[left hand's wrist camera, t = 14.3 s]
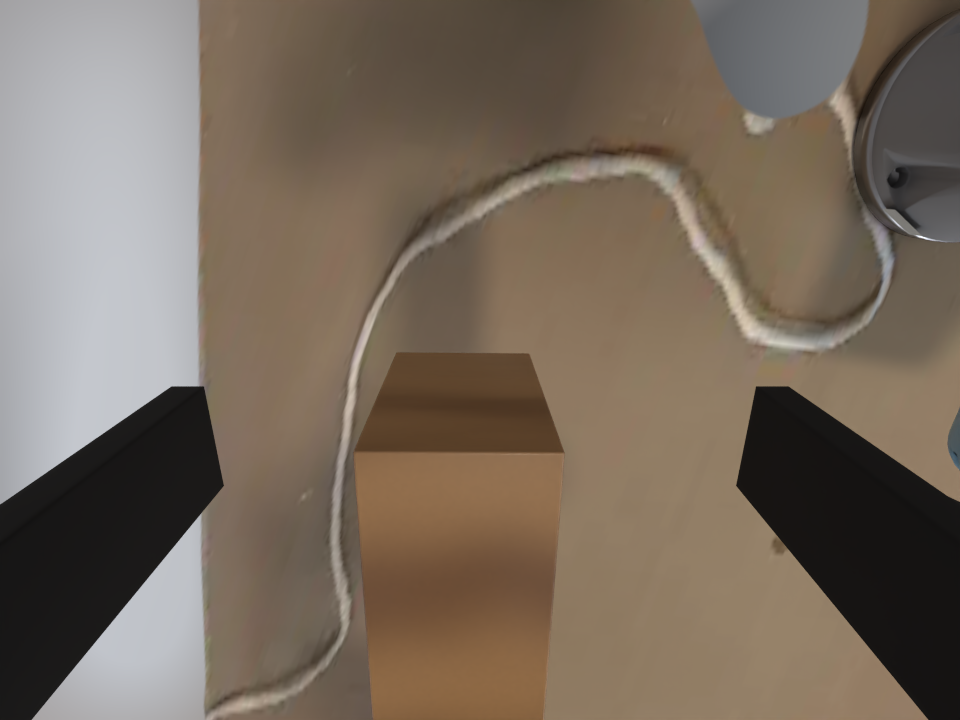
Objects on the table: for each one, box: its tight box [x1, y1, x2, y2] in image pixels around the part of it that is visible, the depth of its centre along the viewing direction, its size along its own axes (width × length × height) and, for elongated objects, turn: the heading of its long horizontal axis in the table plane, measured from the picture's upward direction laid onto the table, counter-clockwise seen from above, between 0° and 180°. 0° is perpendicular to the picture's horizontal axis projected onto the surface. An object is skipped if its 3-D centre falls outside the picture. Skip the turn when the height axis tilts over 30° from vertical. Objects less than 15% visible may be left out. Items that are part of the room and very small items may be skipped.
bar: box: [353, 353, 565, 720], centre depth 23 cm, size 25×6×9 cm, turn 179°
